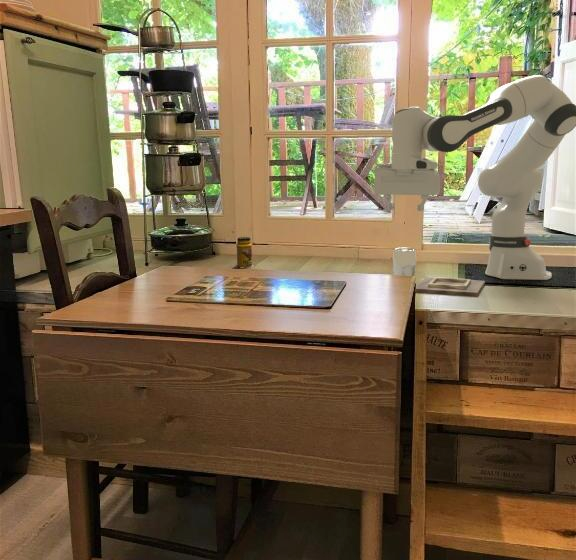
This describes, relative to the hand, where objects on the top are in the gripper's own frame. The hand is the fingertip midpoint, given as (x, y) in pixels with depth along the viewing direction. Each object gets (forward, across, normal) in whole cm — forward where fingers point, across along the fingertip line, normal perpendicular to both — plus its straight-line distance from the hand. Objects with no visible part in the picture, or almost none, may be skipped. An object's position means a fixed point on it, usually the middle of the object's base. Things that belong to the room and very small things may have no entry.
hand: (405, 210), depth 187 cm
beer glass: (+27, 0, 0) cm, 27 cm away
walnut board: (+27, +8, +20) cm, 34 cm away
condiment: (+27, -79, +22) cm, 86 cm away
